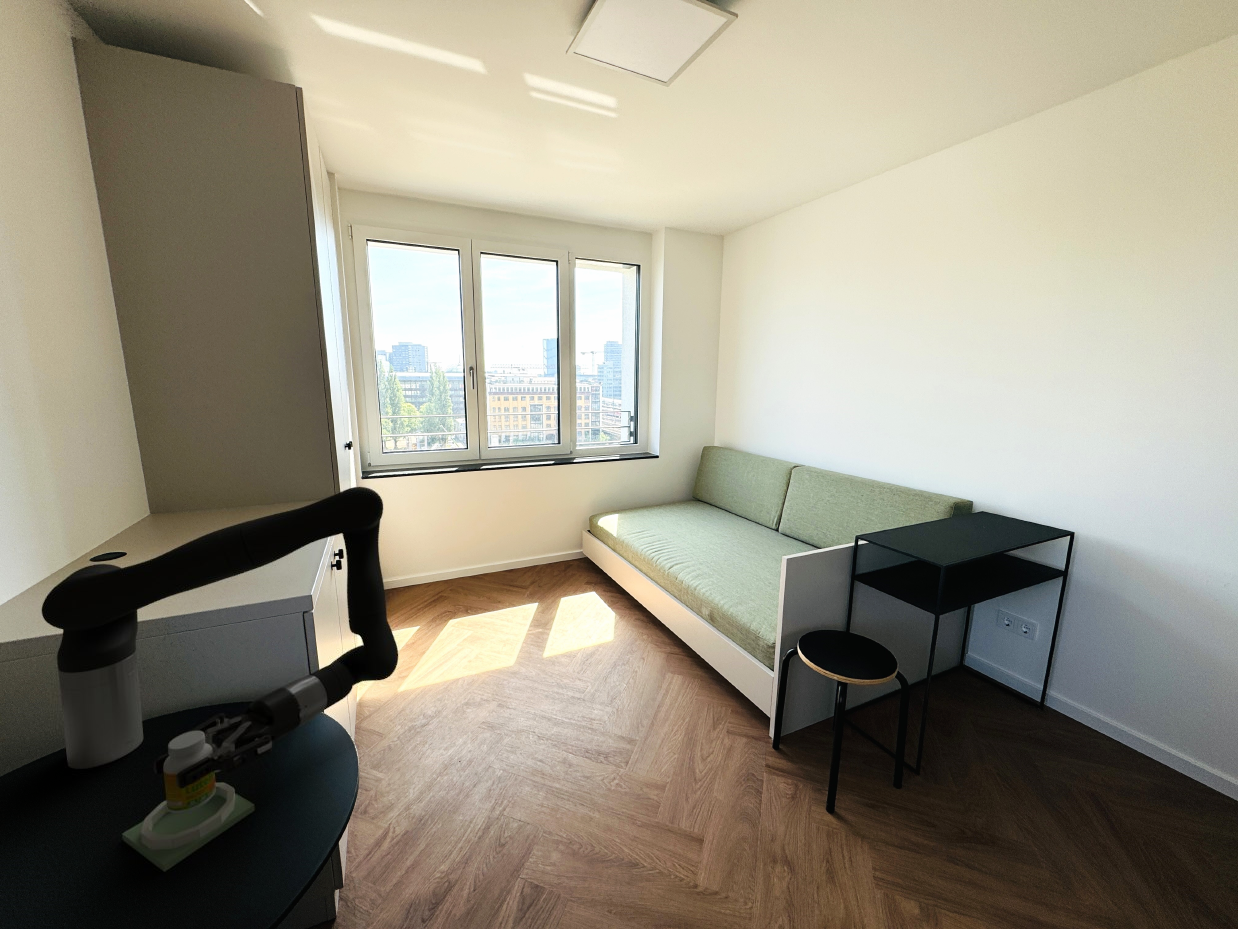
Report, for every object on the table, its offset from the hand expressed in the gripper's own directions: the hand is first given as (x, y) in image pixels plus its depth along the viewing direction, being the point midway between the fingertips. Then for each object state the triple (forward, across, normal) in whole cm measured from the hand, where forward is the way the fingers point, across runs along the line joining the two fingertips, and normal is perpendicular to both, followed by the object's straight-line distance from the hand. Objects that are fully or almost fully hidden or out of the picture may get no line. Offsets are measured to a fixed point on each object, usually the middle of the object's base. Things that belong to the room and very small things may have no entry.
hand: (167, 774), depth 68 cm
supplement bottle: (-3, 0, +6) cm, 7 cm away
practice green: (-2, 0, +10) cm, 10 cm away
